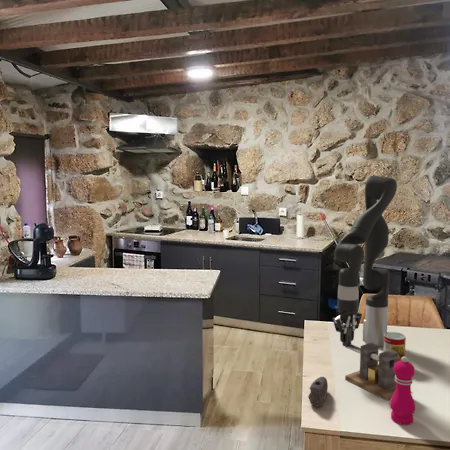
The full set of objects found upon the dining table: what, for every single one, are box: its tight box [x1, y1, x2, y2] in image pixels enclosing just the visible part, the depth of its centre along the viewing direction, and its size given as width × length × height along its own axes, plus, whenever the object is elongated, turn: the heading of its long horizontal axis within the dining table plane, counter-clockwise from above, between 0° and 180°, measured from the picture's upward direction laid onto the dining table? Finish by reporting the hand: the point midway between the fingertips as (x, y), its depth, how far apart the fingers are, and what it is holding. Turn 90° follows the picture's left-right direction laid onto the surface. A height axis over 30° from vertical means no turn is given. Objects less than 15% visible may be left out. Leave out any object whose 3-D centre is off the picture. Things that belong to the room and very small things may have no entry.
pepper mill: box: [389, 355, 416, 426], centre depth 137 cm, size 7×7×20 cm
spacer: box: [368, 363, 379, 384], centre depth 161 cm, size 3×5×5 cm, turn 123°
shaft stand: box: [344, 343, 398, 401], centre depth 160 cm, size 18×12×13 cm, turn 33°
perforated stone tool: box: [307, 376, 329, 408], centre depth 151 cm, size 15×5×7 cm, turn 155°
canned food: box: [383, 331, 407, 362], centre depth 176 cm, size 8×8×12 cm
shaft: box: [342, 326, 379, 362], centre depth 164 cm, size 20×3×8 cm, turn 33°
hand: (346, 341), depth 171 cm, fingers closed on shaft, 3 cm apart
